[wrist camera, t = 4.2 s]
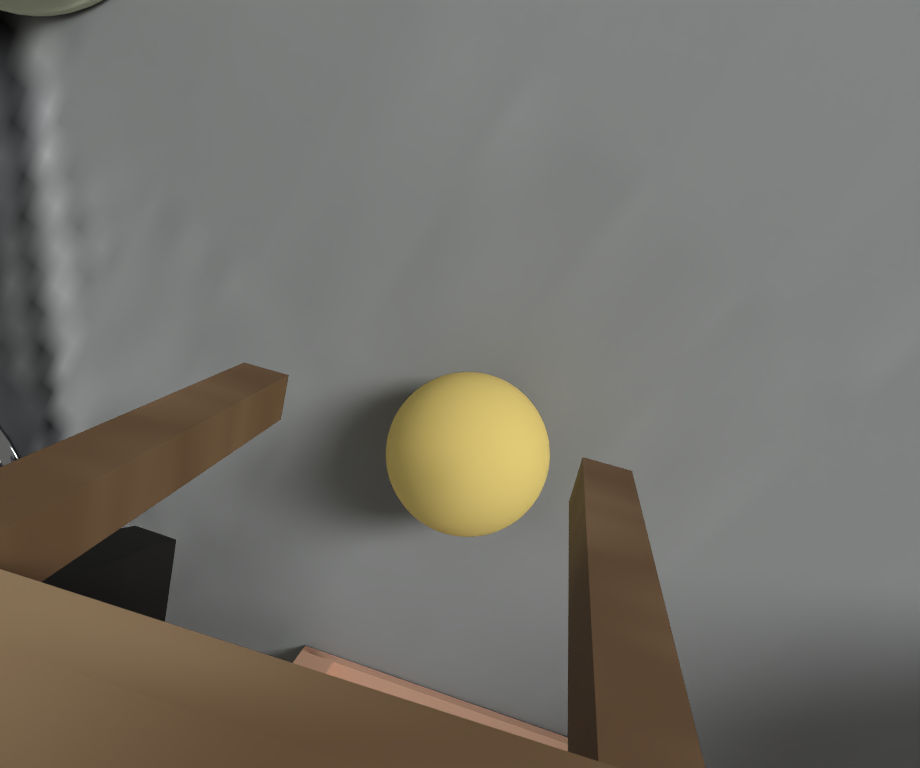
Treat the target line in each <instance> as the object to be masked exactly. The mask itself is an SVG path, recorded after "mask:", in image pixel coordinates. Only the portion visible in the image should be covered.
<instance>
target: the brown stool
mask: <svg viewBox="0 0 920 768" xmlns="http://www.w3.org/2000/svg"><path fill="white" fill-rule="evenodd" d="M288 376H289V375H286V374H283V373H279V372H276V371H272V370H268V369H265V368H261V367H258V366H254V365H251V364H247V363H242V364H240V365H237V366H235V367H233V368H230V369H228V370H226V371H223V372H221V373H219V374H216V375H214V376H212V377H209V378H207V379H205V380H202V381H200V382H198V383H195V384H193V385H191V386H188V387H186V388H184V389H181V390H179V391H177V392H174V393H172V394H170V395H167V396H165V397H163V398H160V399H158V400H156V401H153V402H151V403H149V404H146V405H144V406H142V407H139V408H137V409H135V410H132V411H130V412H128V413H125V414H123V415H121V416H118V417H116V418H114V419H111V420H109V421H107V422H104V423H102V424H100V425H97V426H95V427H93V428H90V429H88V430H86V431H83V432H81V433H79V434H76V435H74V436H72V437H69V438H67V439H65V440H62V441H60V442H58V443H55V444H53V445H51V446H48V447H46V448H44V449H41V450H39V451H37V452H34V453H32V454H30V455H27V456H25V457H23V458H20V459H18V460H16V461H13V462H11V463H9V464H6V465H4V466H2V467H0V768H705V765H704V761H703V757H702V753H701V749H700V745H699V741H698V736H697V732H696V728H695V724H694V720H693V716H692V712H691V708H690V704H689V700H688V696H687V692H686V688H685V684H684V680H683V676H682V672H681V668H680V664H679V660H678V656H677V652H676V648H675V643H674V639H673V635H672V631H671V627H670V623H669V619H668V615H667V611H666V607H665V603H664V599H663V595H662V591H661V587H660V583H659V579H658V575H657V571H656V567H655V563H654V559H653V554H652V550H651V546H650V542H649V538H648V534H647V530H646V526H645V522H644V518H643V514H642V510H641V506H640V502H639V498H638V494H637V490H636V486H635V482H634V478H633V474H632V471H630V470H626V469H623V468H619V467H616V466H612V465H608V464H605V463H601V462H598V461H594V460H591V459H587V458H582V461H581V465H580V468H579V471H578V474H577V478H576V481H575V484H574V487H573V491H572V494H571V497H570V501H569V616H568V751H565V750H561V749H558V748H555V747H552V746H549V745H546V744H543V743H540V742H537V741H533V740H530V739H527V738H524V737H521V736H518V735H515V734H512V733H509V732H505V731H502V730H499V729H496V728H493V727H490V726H487V725H484V724H481V723H478V722H474V721H471V720H468V719H465V718H462V717H459V716H456V715H453V714H450V713H446V712H443V711H440V710H437V709H434V708H431V707H428V706H425V705H422V704H418V703H415V702H412V701H409V700H406V699H403V698H400V697H397V696H394V695H390V694H387V693H384V692H381V691H378V690H375V689H372V688H369V687H366V686H362V685H359V684H356V683H353V682H350V681H347V680H344V679H341V678H338V677H334V676H331V675H328V674H325V673H322V672H319V671H316V670H313V669H310V668H306V667H303V666H300V665H297V664H294V663H291V662H288V661H285V660H282V659H278V658H275V657H272V656H269V655H266V654H263V653H260V652H257V651H254V650H250V649H247V648H244V647H241V646H238V645H235V644H232V643H229V642H226V641H222V640H219V639H216V638H213V637H210V636H207V635H204V634H201V633H198V632H194V631H191V630H188V629H185V628H182V627H179V626H176V625H173V624H170V623H166V622H163V621H160V620H157V619H154V618H151V617H148V616H145V615H142V614H139V613H135V612H132V611H129V610H126V609H123V608H120V607H117V606H114V605H111V604H107V603H104V602H101V601H98V600H95V599H92V598H89V597H86V596H83V595H79V594H76V593H73V592H70V591H67V590H64V589H61V588H58V587H55V586H51V585H48V584H45V583H42V581H43V580H45V579H46V578H48V577H49V576H51V575H52V574H54V573H55V572H57V571H58V570H60V569H61V568H63V567H64V566H65V565H67V564H68V563H70V562H71V561H73V560H74V559H76V558H77V557H79V556H80V555H82V554H83V553H85V552H86V551H88V550H89V549H91V548H92V547H93V546H95V545H96V544H98V543H99V542H101V541H102V540H104V539H105V538H107V537H108V536H110V535H111V534H113V533H114V532H116V531H117V530H119V529H120V528H121V527H123V526H124V525H126V524H127V523H129V522H130V521H132V520H133V519H135V518H136V517H138V516H139V515H141V514H142V513H144V512H145V511H147V510H148V509H149V508H151V507H152V506H154V505H155V504H157V503H158V502H160V501H161V500H163V499H164V498H166V497H167V496H169V495H170V494H172V493H173V492H175V491H176V490H177V489H179V488H180V487H182V486H183V485H185V484H186V483H188V482H189V481H191V480H192V479H194V478H195V477H197V476H198V475H200V474H201V473H203V472H204V471H205V470H207V469H208V468H210V467H211V466H213V465H214V464H216V463H217V462H219V461H220V460H222V459H223V458H225V457H226V456H228V455H229V454H231V453H232V452H233V451H235V450H236V449H238V448H239V447H241V446H242V445H244V444H245V443H247V442H248V441H250V440H251V439H253V438H254V437H256V436H257V435H259V434H260V433H261V432H263V431H264V430H266V429H267V428H269V427H270V426H272V425H273V424H275V423H276V422H278V421H279V420H281V415H282V410H283V404H284V398H285V393H286V387H287V381H288Z"/></svg>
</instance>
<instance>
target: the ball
mask: <svg viewBox="0 0 920 768" xmlns="http://www.w3.org/2000/svg"><path fill="white" fill-rule="evenodd" d="M549 458H550V450H549V440H548V436H547V432H546V429H545V426H544V423H543V421H542V419H541V417H540V415H539V413H538V411H537V410H536V408H535V407H534V405H533V404H532V403H531V401H530V400H529V399H528V398H527V397H526V396H525V395H524V394H523V393H522V392H521V391H519V390H518V389H517V388H516V387H514V386H513V385H511V384H510V383H508V382H506V381H504V380H502V379H500V378H497V377H494V376H491V375H488V374H483V373H476V372H459V373H452V374H447V375H444V376H441V377H438V378H436V379H434V380H432V381H430V382H428V383H426V384H424V385H423V386H421V387H420V388H418V389H417V390H416V391H415V392H414V393H413V394H411V395H410V396H409V397H408V399H407V400H406V401H405V402H404V403H403V405H402V406H401V407H400V409H399V410H398V412H397V414H396V415H395V417H394V420H393V422H392V424H391V427H390V430H389V434H388V437H387V444H386V464H387V471H388V475H389V479H390V482H391V484H392V487H393V489H394V491H395V493H396V495H397V497H398V498H399V500H400V501H401V502H402V504H403V505H404V507H405V508H406V509H407V510H408V511H409V512H410V513H411V514H412V515H413V516H414V517H415V518H416V519H418V520H419V521H420V522H422V523H423V524H425V525H426V526H428V527H430V528H432V529H434V530H437V531H439V532H442V533H445V534H449V535H454V536H462V537H475V536H483V535H487V534H491V533H494V532H496V531H499V530H501V529H503V528H506V527H507V526H509V525H511V524H513V523H514V522H515V521H517V520H518V519H519V518H521V517H522V516H523V515H524V514H525V513H526V512H527V511H528V510H529V508H530V507H531V506H532V505H533V504H534V502H535V501H536V499H537V498H538V496H539V494H540V492H541V490H542V488H543V486H544V483H545V480H546V478H547V473H548V469H549Z"/></svg>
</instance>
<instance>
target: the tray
mask: <svg viewBox="0 0 920 768" xmlns="http://www.w3.org/2000/svg"><path fill="white" fill-rule="evenodd" d="M293 663H294V664H297V665H300V666H303V667H306V668H310V669H313V670H316V671H319V672H322V673H325V674H328V675H331V676H334V677H338V678H341V679H344V680H347V681H350V682H353V683H356V684H359V685H362V686H366V687H369V688H372V689H375V690H378V691H381V692H384V693H387V694H390V695H394V696H397V697H400V698H403V699H406V700H409V701H412V702H415V703H418V704H422V705H425V706H428V707H431V708H434V709H437V710H440V711H443V712H446V713H450V714H453V715H456V716H459V717H462V718H465V719H468V720H471V721H474V722H478V723H481V724H484V725H487V726H490V727H493V728H496V729H499V730H502V731H505V732H509V733H512V734H515V735H518V736H521V737H524V738H527V739H530V740H533V741H537V742H540V743H543V744H546V745H549V746H552V747H555V748H558V749H561V750H565V751H568V737H565V736H562V735H559V734H556V733H553V732H551V731H548V730H545V729H542V728H539V727H536V726H533V725H531V724H528V723H525V722H522V721H519V720H516V719H513V718H511V717H508V716H505V715H502V714H499V713H496V712H493V711H491V710H488V709H485V708H482V707H479V706H476V705H473V704H471V703H468V702H465V701H462V700H459V699H456V698H453V697H451V696H448V695H445V694H442V693H439V692H436V691H433V690H431V689H428V688H425V687H422V686H419V685H416V684H413V683H411V682H408V681H405V680H402V679H399V678H396V677H394V676H391V675H388V674H385V673H382V672H379V671H376V670H374V669H371V668H368V667H365V666H362V665H359V664H356V663H354V662H351V661H348V660H345V659H342V658H339V657H336V656H334V655H331V654H328V653H325V652H322V651H319V650H316V649H314V648H311V647H308V646H305V647H304V648H303V649H302V651H301V652H300V653H299V655H298V656H297V658H296V659H295V660H294V662H293Z"/></svg>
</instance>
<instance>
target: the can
mask: <svg viewBox="0 0 920 768" xmlns="http://www.w3.org/2000/svg"><path fill="white" fill-rule="evenodd" d="M101 1H103V0H0V10H2V11H6V12H10V13H14V14H18V15H28V16H55V15H62V14H69V13H72V12H75V11H78V10H81V9H84V8H87V7H90V6H93V5H95V4H97V3H99V2H101Z"/></svg>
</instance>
